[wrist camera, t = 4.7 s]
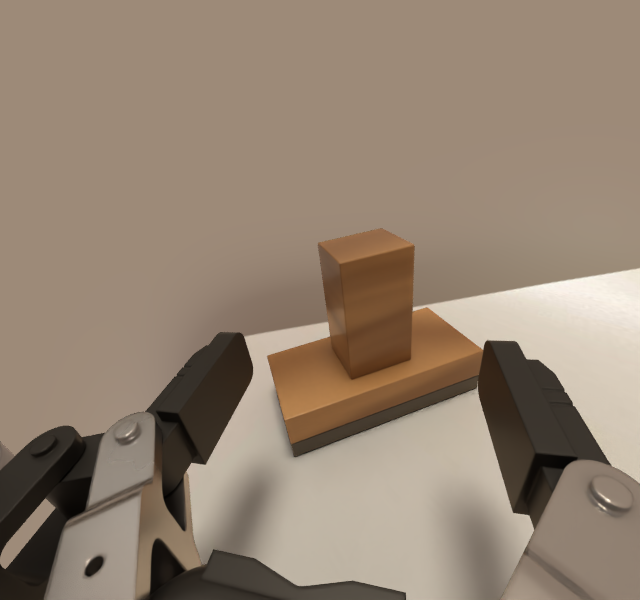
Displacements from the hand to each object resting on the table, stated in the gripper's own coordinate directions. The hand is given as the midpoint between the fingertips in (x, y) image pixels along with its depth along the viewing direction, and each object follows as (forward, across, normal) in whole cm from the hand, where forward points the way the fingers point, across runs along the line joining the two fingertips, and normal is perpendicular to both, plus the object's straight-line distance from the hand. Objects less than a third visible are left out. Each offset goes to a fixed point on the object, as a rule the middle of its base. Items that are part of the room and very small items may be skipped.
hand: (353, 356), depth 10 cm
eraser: (+6, 0, +7) cm, 9 cm away
